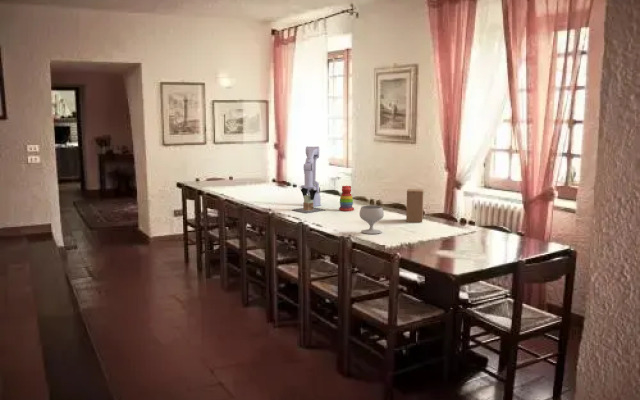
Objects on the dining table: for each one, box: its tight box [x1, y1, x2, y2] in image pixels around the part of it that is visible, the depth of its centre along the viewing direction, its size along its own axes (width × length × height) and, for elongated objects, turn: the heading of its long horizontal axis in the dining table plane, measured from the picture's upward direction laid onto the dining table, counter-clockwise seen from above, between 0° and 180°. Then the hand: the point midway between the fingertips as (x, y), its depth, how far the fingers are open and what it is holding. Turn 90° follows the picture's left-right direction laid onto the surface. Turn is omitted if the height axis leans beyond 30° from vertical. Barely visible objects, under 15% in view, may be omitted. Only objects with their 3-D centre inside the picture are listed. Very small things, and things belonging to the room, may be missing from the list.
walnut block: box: [302, 202, 314, 210], centre depth 400 cm, size 5×5×5 cm
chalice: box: [359, 204, 385, 235], centre depth 325 cm, size 14×14×15 cm
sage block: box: [303, 194, 313, 203], centre depth 399 cm, size 4×4×5 cm
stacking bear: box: [338, 185, 355, 212], centre depth 399 cm, size 11×10×18 cm
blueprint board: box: [291, 206, 326, 214], centre depth 401 cm, size 18×16×1 cm
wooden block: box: [405, 188, 424, 223], centre depth 359 cm, size 10×10×20 cm
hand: (308, 199), depth 399 cm, fingers open, 7 cm apart
